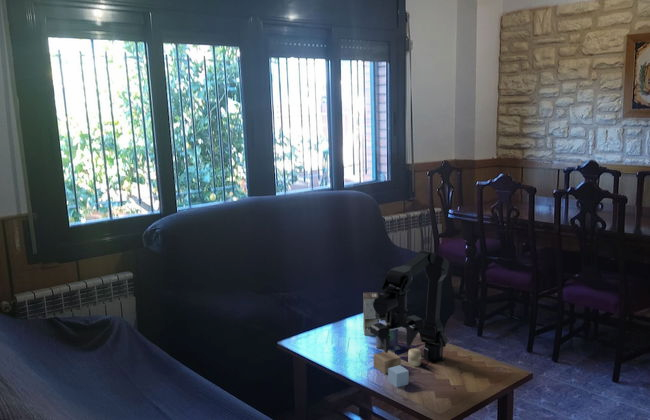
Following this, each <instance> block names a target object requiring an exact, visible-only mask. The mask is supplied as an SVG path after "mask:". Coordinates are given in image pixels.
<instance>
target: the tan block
mask: <svg viewBox="0 0 650 420" xmlns="http://www.w3.org/2000/svg"><path fill="white" fill-rule="evenodd" d="M401 359H402V357H401V356H399V355H397V354H396V353H394V351H391V350H389V349H388V353H385V351H381V352H378V353H374V354H373V368H375V369H376V368H377V369H376V370H378V371H379V370H380V372H381V373H382V372H383V373H382V374H384V375H387V374H386V373H388V368H391V367H395V366H398V365H401V366H402V364H401Z"/></svg>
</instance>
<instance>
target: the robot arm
mask: <svg viewBox="0 0 650 420" xmlns="http://www.w3.org/2000/svg"><path fill="white" fill-rule="evenodd" d="M449 268H450V263H449V261H448V259H447V258H446V257H442V256H440V255H437V254H436V253H435V252H434V251H430V250H425V249H423V250H419V252H418V254H416V255H415V256H414V257H413V258H411V259H410V260H408V261H407V262H406V263H404V264H403V265H401V266H395V267H393V268H391V269H389V270H388V272H387V273H386V275H385V278H384V280H383V282H382V285H381V287H380V291H382V292H379V293H378V298H376V299H375V300H374V303H373V307H374V310H375V316H376V319H379V323H378V324H373V325H372V326H371V328H370V332H371V333H372V334H374V335H373V336H375V337H376V336H377V337H379V338H380V340H381V343H382V346H383V348H382V349H383V350H384V351H383V352H385V353H388V351H389V349H390V347H389V341H390V336H388V335H389V334H390V331H391V330H395V329H398V330H399V329H402V328H405V331H406V335H405V336H406V347H407V348H410V347H411V345H412V343H413V342H414V339H415V338H416V336H417V335H418V333H419V337H420V342H421V343H424V347H423V355H422V354H421V358H422V359H424V360H425V361H428V362H430V363H431V364H435V363H437V362H442V361H445V360H446V357H444V356H443V355H444V354H443V353H444V348H445V347H446V346H447V344H448V337H447V336H446V335H445V333H444V325H443V323H442V321H441V319H440V315H441V314H440V313H441V303H442V302H441V301H442V290H443V289H442V288H443V280H444V279H446V277H447V275H448V273H449V272H448V271H449ZM423 269H424V273H425V275H426V277H427V279H428V286H427V299H426V300H427V302H426V313H425V318H424V320H423V318H421V317H419V316H417V315H410V316H409V315H408V316H407V314H409V313H410V311H409V310H408V309H407V298H408V297H407V294H408V292H410V290H411V289H410V288H409V286H410V285H411V284H412V282H413V277H414V276H415V275H417V274H418V273H419V272H421V271H422V270H423ZM382 321H384V322H386V323H389V325H386V326H385V325H384V324H385V323H384V324H383V323H382Z"/></svg>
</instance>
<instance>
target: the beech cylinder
mask: <svg viewBox="0 0 650 420" xmlns="http://www.w3.org/2000/svg"><path fill="white" fill-rule="evenodd" d="M407 355H408V356H407V357H408V358H407V359H408V361H407V362H408V363H407V364H408V365H409V366H410V367H420V366H421V364H422V350H421V349H419V348H410V349H408V354H407Z"/></svg>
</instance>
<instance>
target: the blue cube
mask: <svg viewBox="0 0 650 420" xmlns="http://www.w3.org/2000/svg"><path fill="white" fill-rule="evenodd" d="M409 373H410V371H409V370H408V369H407V368H405V367H403V366H402V364H401V365H398V366H395V367H391V368H388V374H387V382H388V383H389V384H391V385H392V386H394V387H395V388H401V387H403V386H406V385H409V377H410V374H409Z"/></svg>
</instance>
